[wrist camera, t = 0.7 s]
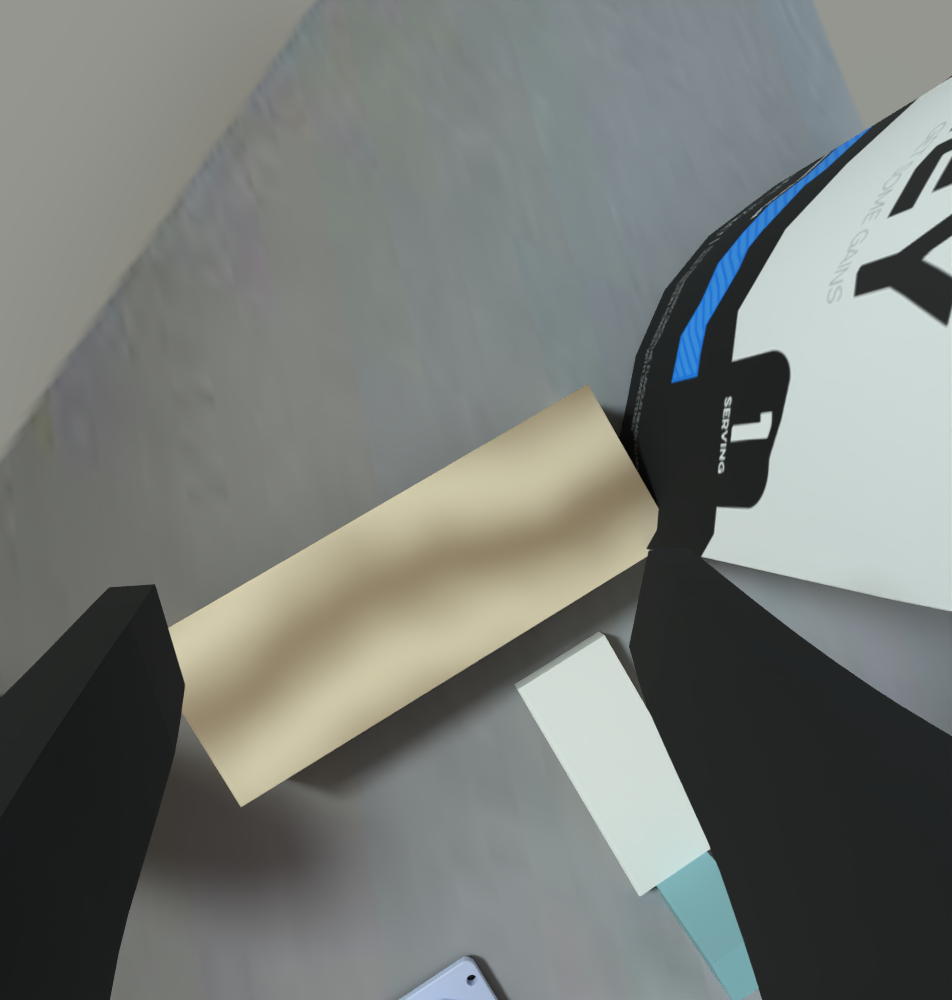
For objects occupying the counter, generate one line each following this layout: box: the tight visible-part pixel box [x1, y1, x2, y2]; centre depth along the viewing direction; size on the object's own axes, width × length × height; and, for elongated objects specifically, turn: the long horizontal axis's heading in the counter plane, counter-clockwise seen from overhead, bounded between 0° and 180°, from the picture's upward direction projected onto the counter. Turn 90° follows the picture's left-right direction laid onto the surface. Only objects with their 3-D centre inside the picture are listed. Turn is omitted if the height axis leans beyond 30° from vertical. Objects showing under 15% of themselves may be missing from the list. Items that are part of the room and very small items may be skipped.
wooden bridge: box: [168, 384, 659, 807], centre depth 32 cm, size 8×22×4 cm, turn 120°
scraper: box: [514, 632, 758, 1000], centre depth 32 cm, size 14×5×7 cm, turn 30°
